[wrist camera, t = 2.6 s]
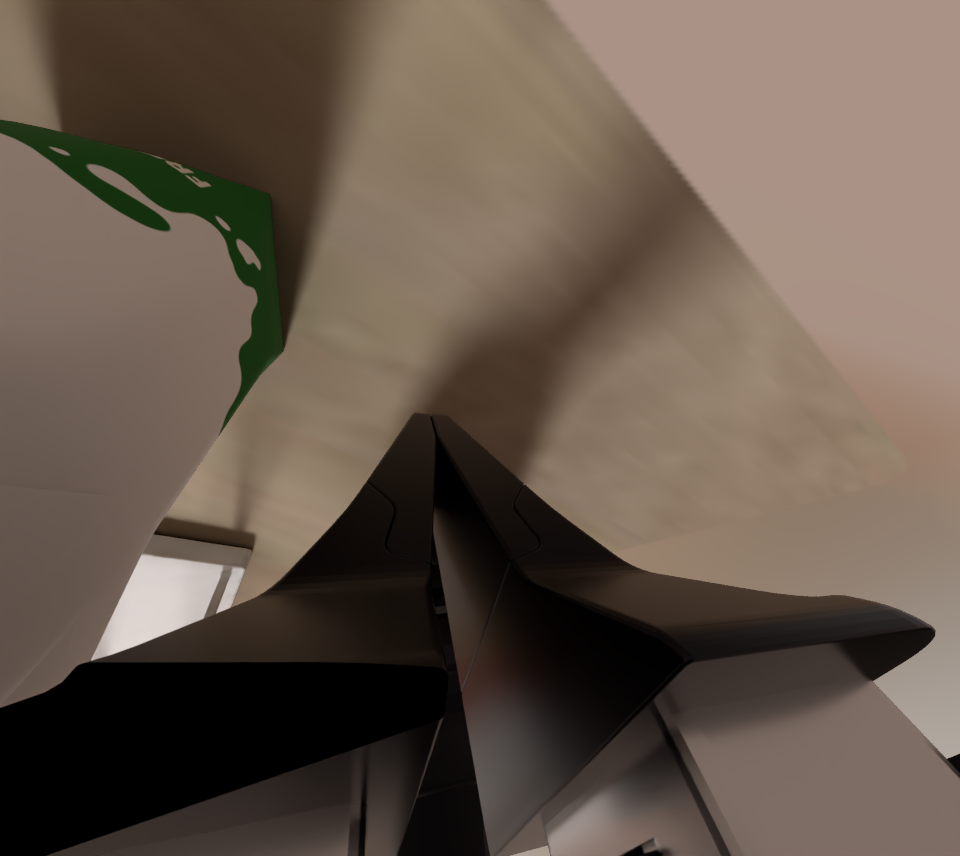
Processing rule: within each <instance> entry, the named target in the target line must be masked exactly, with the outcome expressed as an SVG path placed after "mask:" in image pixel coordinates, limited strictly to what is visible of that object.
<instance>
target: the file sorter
mask: <svg viewBox="0 0 960 856" xmlns="http://www.w3.org/2000/svg"><path fill="white" fill-rule="evenodd" d="M251 555H252V551H251V550H250V549H246V548H239V547H232V546H226V545H219V544H213V543H206V542H200V541H194V540H187V539H181V538H174V537H168V536H161V535H154V534H153V535H152V537H151V539H150V541H149V542H148V544H147V546H146V548H145V549H144V551H143V553H142V555H141V557H140V559H139V561H138V563H137V565H136V567H135V569H134V571H133V573H132V575H131V578H130V580H129V582H128V584H127V586H126V588H125V590H124V592H123V594H122V596H121V598H120V600H119V602H118V604H117V607H116V609H115V611H114V613H113V615H112V617H111V619H110V621H109V623H108V625H107V628H106V630H105V632H104V634H103V636H102V638H101V640H100V642H99V644H98V646H97V649H96V651H95V653H94V655H93V657H92V659H91V661H92V660H95V659H99V658H102V657H105V656H109V655H112V654H115V653H117V652H120V651H123V650H126V649H129V648H131V647H134V646H137V645H139V644H142V643H144V642H147V641H149V640H152V639H154V638H157V637H159V636H162V635H164V634H166V633H169V632H171V631H174V630H176V629H179V628H181V627H184V626H186V625H189V624H191V623H194V622H196V621H199V620H201V619H204V618H206V617H209V616H211V615H214V614H216V613H219V612H221V611H224V610H226V609H229V608H231V606H232V603H233V601H234V598H235V596H236V593H237V590H238V588H239V585H240V583H241V580H242V578H243V575H244V572H245V570H246V567H247V565H248V562H249V560H250V557H251Z"/></svg>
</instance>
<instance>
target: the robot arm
mask: <svg viewBox="0 0 960 856" xmlns="http://www.w3.org/2000/svg"><path fill="white" fill-rule="evenodd" d="M523 485H524V484H523V482H521V481H520V480H519V479H518V478H517V477H516V476H515V475H514V474H512V473H511V472H510V471H509V470H508V469H507V468H506V467H505V466H503V465H502V464H501V463H500V462H499V461H498V460H497V459H496V458H494V457H493V456H492V455H491V454H490V453H489V452H488V451H487V450H485V449H484V448H483V447H482V446H481V445H480V444H479V443H478V442H476V441H475V440H474V439H473V438H472V437H471V436H470V435H469V434H467V433H466V432H465V431H464V430H463V429H462V428H461V427H460V426H458V425H457V424H456V423H455V422H454V421H453V420H452V419H451V418H449V417H448V416H447V415H440V414H432V415H431V416H430V415H429V414H424V413H414V414H413V415H412V416H411V417H410V419H409V420H408V422H407V423H406V425H405V426H404V428H403V429H402V431H401V432H400V433H399V435H398V436H397V438H396V439H395V441H394V442H393V444H392V445H391V447H390V448H389V450H388V451H387V452H386V454H385V455H384V457H383V458H382V460H381V461H380V463H379V464H378V466H377V467H376V468H375V470H374V471H373V473H372V474H371V476H370V477H369V479H368V480H367V482H366V484H364V486H363V487H362V489H361V490H360V491H359V493H358V494H357V496H356V497H355V498H354V500H353V501H352V502H351V504H350V505H349V506H348V508H347V509H346V510H345V511H344V512H343V514H342V515H341V516H340V517H339V518H338V519H337V520H336V521H335V523H334V524H333V525H332V526H331V527H330V528H329V529H328V530H327V531H326V532H325V533H324V534H323V535H322V537H321V538H320V539H319V540H318V541H317V542H316V543H315V544H314V545H313V546H312V547H311V548H310V549H309V550H308V551H307V552H306V553H305V555H304V556H303V557H302V558H301V559H300V560H299V561H298V562H297V563H296V564H295V565H294V566H293V567H292V568H291V569H290V570H289V571H288V572H287V573H286V574H285V575H284V576H283V577H282V578H281V579H280V580H279V581H278V582H277V583H276V584H274V585H273V586H272V587H271V588H269V589H268V590H267V591H265V592H264V593H262V594H260V595H259V596H257V597H255V598H253V599H251V600H248V601H246V602H243V603H241V604H239V605H236V606H234V607H231V608H229V609H226V610H224V611H221V612H219V613H216V614H214V615H211V616H209V617H206V618H204V619H201V620H199V621H196V622H194V623H191V624H189V625H186V626H184V627H181V628H179V629H176V630H174V631H171V632H169V633H166V634H164V635H162V636H159V637H157V638H154V639H152V640H149V641H147V642H144V643H142V644H139V645H137V646H134V647H131V648H129V649H126V650H123V651H120V652H117V653H115V654H112V655H109V656H105V657H102V658H99V659H95V660H92V661H88V662H85V663H82V664H79V665H77V666H76V667H75V668H74V669H73V670H72V672H71V673H70V674H69V675H68V676H67V677H66V678H65V679H64V681H63V682H61V683H60V684H58V685H56V686H55V687H53V688H51V689H50V690H48V691H46V692H44V693H41V694H38V695H36V696H33V697H30V698H27V699H24V700H21V701H18V702H15V703H12V704H9V705H7V706H4V707H1V708H0V856H510V855H513V854H517V853H521V852H525V851H528V850H532V849H536V848H539V847H543V846H546V845H548V847H549V851H550V856H960V754H958V755H956V756H953V757H951V758H948V759H946V758H945V757H944V756H943V755H942V754H941V753H940V752H939V751H938V749H937V748H935V746H934V745H932V743H931V742H930V741H929V740H928V739H927V738H926V737H925V736H924V735H923V734H922V733H921V732H920V731H919V730H918V728H917V727H916V726H915V725H914V724H913V723H912V722H911V721H910V720H909V719H908V718H907V717H906V716H905V715H904V714H903V713H902V712H901V711H900V710H899V709H898V708H897V706H896V705H895V704H894V703H893V702H892V701H891V700H890V699H889V698H888V697H887V696H886V695H885V694H884V693H883V692H882V691H881V690H880V689H879V687H878V686H876V684H875V683H874V682H873V681H874V680H875V679H877V678H879V677H880V676H882V675H883V674H885V673H887V672H888V671H890V670H892V669H893V668H895V667H897V666H898V665H900V664H901V663H903V662H905V661H906V660H908V659H909V658H911V657H912V656H914V655H915V654H917V653H918V652H919V651H920V650H922V649H923V648H925V647H926V646H927V645H928V644H929V643H930V642H931V641H932V639H933V638H934V637H935V629H934V628H933V627H932V626H931V625H929V624H927V623H926V622H924V621H922V620H920V619H918V618H917V617H914V616H912V615H910V614H908V613H906V612H903V611H901V610H899V609H896V608H893V607H891V606H887V605H884V604H881V603H877V602H873V601H868V600H864V599H860V598H854V597H850V596H844V595H843V596H842V595H830V596H820V597H808V596H794V595H786V594H777V593H769V592H763V591H757V590H751V589H745V588H739V587H733V586H727V585H722V584H715V583H709V582H703V581H698V580H692V579H686V578H680V577H674V576H668V575H662V574H656V573H652V572H648V571H645V570H642V569H640V568H637V567H635V566H632V565H631V564H629V563H627V562H625V561H623V560H622V559H620V558H619V557H617V556H616V555H615V554H613V553H612V552H611V551H609V550H608V549H606V548H605V547H604V546H602V545H601V544H600V543H598V542H597V541H596V540H594V539H593V538H592V537H590V536H589V535H587V534H586V533H585V532H583V531H582V530H581V529H579V528H578V527H577V526H575V525H574V524H573V523H571V522H570V521H569V520H567V519H566V518H565V517H563V516H562V515H561V514H559V513H558V512H557V511H556V510H554V509H553V508H552V507H550V506H549V505H548V504H547V503H546V502H545V501H543V500H542V499H541V498H540V497H539V496H537V495H536V494H535V493H534V492H533V491H532V490H531V489H529V488H528V487H527V486H526V485H524V486H523Z"/></svg>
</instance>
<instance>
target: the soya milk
mask: <svg viewBox="0 0 960 856" xmlns="http://www.w3.org/2000/svg"><path fill="white" fill-rule="evenodd" d="M283 351H284V348H283V337H282V326H281V314H280V303H279V291H278V280H277V268H276V257H275V245H274V234H273V222H272V211H271V199H270V194H268V193H265V192H261V191H258V190H255V189H252V188H250V187H247V186H244V185H241V184H238V183H235V182H232V181H229V180H226V179H223V178H220V177H217V176H214V175H211V174H208V173H205V172H202V171H199V170H197V169H194V168H191V167H188V166H185V165H182V164H179V163H176V162H173V161H170V160H166V159H163V158H160V157H157V156H154V155H151V154H148V153H144V152H140V151H136V150H132V149H127V148H123V147H118V146H114V145H110V144H106V143H101V142H97V141H93V140H89V139H86V138H82V137H78V136H74V135H71V134H67V133H63V132H59V131H55V130H50V129H46V128H42V127H37V126H32V125H28V124H23V123H18V122H12V121H5V120H0V708H1V707H4V706H7V705H9V704H12V703H15V702H18V701H21V700H24V699H27V698H30V697H33V696H36V695H38V694H41V693H44V692H46V691H48V690H50V689H51V688H53V687H55V686H56V685H58V684H60V683H61V682H63V681H64V679H65V678H66V677H67V676H68V675H69V674H70V673H71V672H72V670H73V669H74V668H75V667H76V666H77V665H79V664H82V663H85V662H88V661H91V659H92V657H93V655H94V653H95V651H96V649H97V646H98V644H99V642H100V640H101V638H102V636H103V634H104V632H105V630H106V628H107V625H108V623H109V621H110V619H111V617H112V615H113V613H114V611H115V609H116V607H117V604H118V602H119V600H120V598H121V596H122V594H123V592H124V590H125V588H126V586H127V584H128V582H129V580H130V578H131V575H132V573H133V571H134V569H135V567H136V565H137V563H138V561H139V559H140V557H141V555H142V553H143V551H144V549H145V548H146V546H147V544H148V542H149V541H150V539H151V537H152V535H153V534H154V532H155V530H156V529H157V527H158V526H159V524H160V523H161V521H162V520H163V518H164V517H165V515H166V514H167V512H168V511H169V509H170V508H171V506H172V505H173V503H174V502H175V500H176V499H177V497H178V496H179V494H180V493H181V491H182V490H183V488H184V487H185V486H186V484H187V483H188V481H189V480H190V478H191V477H192V475H193V474H194V472H195V471H196V469H197V468H198V466H199V465H200V463H201V462H202V460H203V459H204V457H205V456H206V454H207V453H208V451H209V450H210V448H211V447H212V445H213V444H214V442H215V441H216V439H217V438H218V436H219V435H220V433H221V432H222V430H223V429H224V427H225V426H226V424H227V423H228V422H229V420H230V419H231V417H232V416H233V414H234V413H235V411H236V410H237V408H238V407H239V405H240V404H241V402H242V401H243V399H244V398H245V396H246V395H247V393H248V392H249V390H250V389H251V387H252V386H253V384H254V383H255V382H256V380H257V379H258V377H259V376H260V375H261V374H262V373H263V372H264V370H265V369H266V368H267V367H268V366H269V365H270V364H271V363H272V362H273V361H274V360H275V359H276V358H277V357H278V356H279V355H280V354H281V353H282V352H283Z"/></svg>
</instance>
